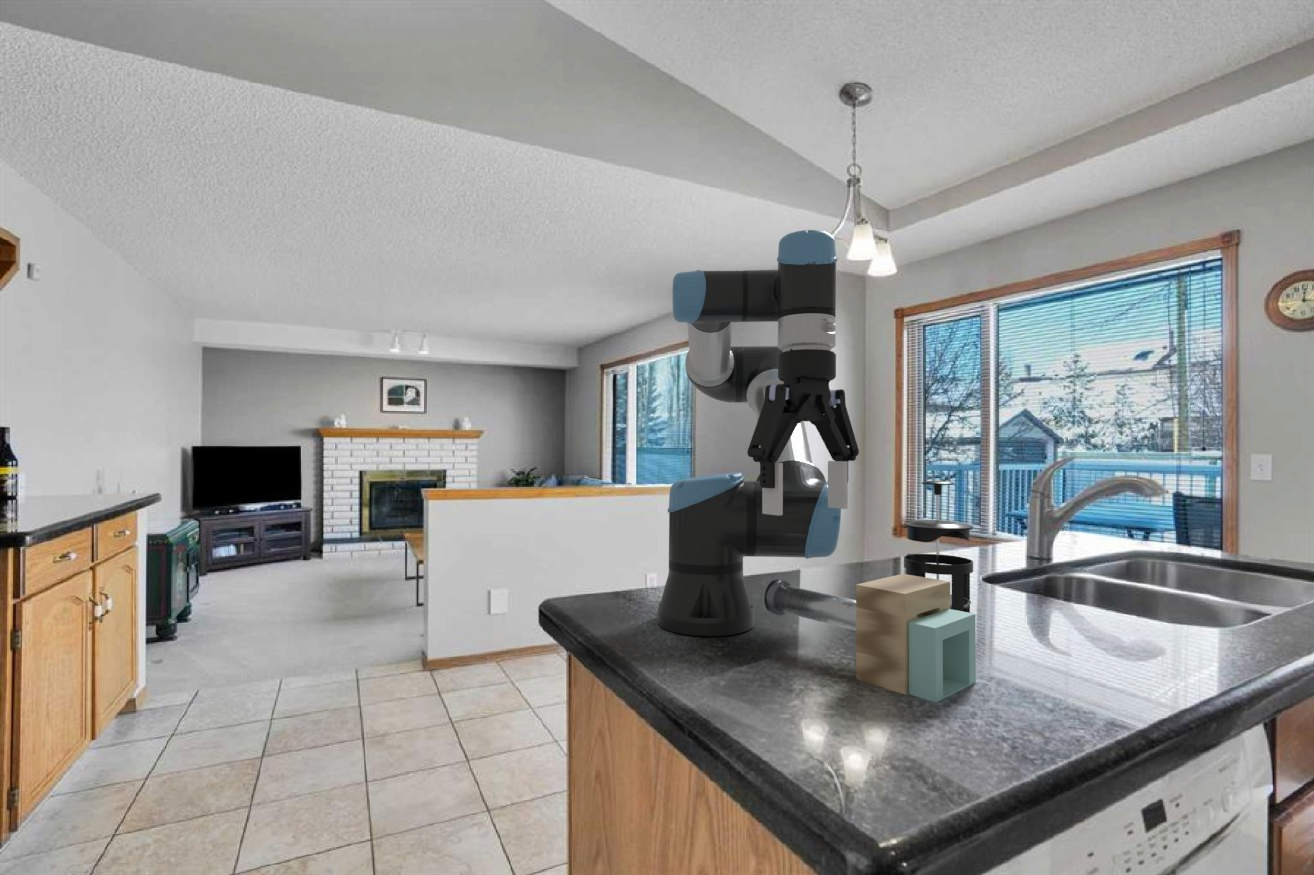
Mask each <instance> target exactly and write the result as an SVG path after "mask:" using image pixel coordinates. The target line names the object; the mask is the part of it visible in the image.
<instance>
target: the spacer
mask: <svg viewBox="0 0 1314 875" xmlns="http://www.w3.org/2000/svg"><path fill="white" fill-rule="evenodd" d="M976 638H977V637H976V614H975V613H972V612H970V613H968V612H963V611H958V610H953V609H947V610H944V611H941V612H938V613H935V614H932V615H929V616H926V617H923V618H920V619H917V620H914V621H910V622H909V693H908V695H911V696H914V697H917V698H920V699H923V700H927V701H929V702H934V703H938V702H940V701H942V700H944V699H946V698H948V697H949V696H952V695H954V694H956V693H959V691H962V690H965V689H966V688H967V687H970V686H972V685H974V684H976V683H977V681H976V680H977V679H976V678H977V676H976V675H977V674H976V668H977V667H976V664H977V662H976V660H977V659H976V656H977V654H976V647H977V646H976V643H977V642H976Z"/></svg>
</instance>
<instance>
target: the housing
mask: <svg viewBox="0 0 1314 875" xmlns="http://www.w3.org/2000/svg"><path fill="white" fill-rule="evenodd" d="M855 586H856V589H855V591H856V593H855V600H856V631H855V641H856V642H855V644H856V646H855V650H856V652H855V658H856V659H855V663H856V664H855V665H856V666H855V669H856V670H855V672H856V673H855V674H856V675H855V676H856V677H855V679H856V680H858V681H860V682H864V683H868V684H870V685H874V686H877V687H880V688H883V689H886V690H888V691H892V692H896V693H899V694H901V695H905V696H906V695H909V622H910V621H914V620H917V614H923V615H925V616H929V615H932V614H935V613H938V612H941V611H944V610H947V609H950V594H951V581H950V580H943V579H942V580H941V579H939V580H937V578H930V577H926V576H925V577H919V576H913V575H907V574H906V573H900V574H897V575H895V574H894V575H891V576H887V577H883V578H879V579H874V580H869V581H866V582H861V583H857V584H856V585H855Z"/></svg>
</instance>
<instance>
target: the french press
mask: <svg viewBox="0 0 1314 875" xmlns="http://www.w3.org/2000/svg"><path fill="white" fill-rule="evenodd" d="M921 484H922V485H931V486H933V495H935V499H936V502H935V503H936V507H935V510H936V512H935V513H936V514H935V515H936V518H935V519H922V520H921V519H920V520H910V521H906V522H905V521H904V522H903V526H904V527H906V539H908V540H910V541H913V542H919V543H933V542H935V541H936V542H935V544H936V552H935V553H934V554H933V553H907V554H906V555H904V556H903V567H904V568H905V574H907V575H913V576H919V577H925V578H926V574H932V575H936V579H937V580H940V575H943V576H944V575H946V576H950V575H951V593H950V609H953V610H958V611H963V612H968V613H971V603H972V601H971V574H972V573H973V572H974V561H973V560H972V559H970V558H966V557H961V556H956V555H949V554H940V538H941V537H945V538H954V539H955V538H956V539H961V540H965V541H967V542H970V537H971V536H970V535H971V534H970V530H973V529H974V526H973V525H971V524H968V523H963V522H957V521H953V520H941V519H940V496H941V495H942V486H947V485H948V486H953V485H955V483H954V482H952V481H949V480H926V481H923V482H921Z"/></svg>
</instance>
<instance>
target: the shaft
mask: <svg viewBox="0 0 1314 875" xmlns="http://www.w3.org/2000/svg"><path fill="white" fill-rule="evenodd" d="M763 597H764V599H763V600H764V606H765V608H766V611H768V613H770V614H774V615H777V616H784V615H785V614H789V615H793V616H795V617H800V618H805V619H808V620H813V621H816V622H819V623H823V624H828V625H832V626H836V627H839V628H843V629H848V630H852V631H855V632H856V599H851V598H847V597H845V596H844V597H843V596H839V595H834V594H828V593H823V592H820V591H815V590H810V589H806V588H805V589H804V588H800V587H797V586H793V585H791V584H790V583H789V581H788V582H787V581H786V580H780V579H773V580H772V581H771V582H770V583H769V584H768V585H767V587H766V589H765V592H764V596H763ZM923 617H926V616H925V615H923V614H917V619H920V618H923Z"/></svg>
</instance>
